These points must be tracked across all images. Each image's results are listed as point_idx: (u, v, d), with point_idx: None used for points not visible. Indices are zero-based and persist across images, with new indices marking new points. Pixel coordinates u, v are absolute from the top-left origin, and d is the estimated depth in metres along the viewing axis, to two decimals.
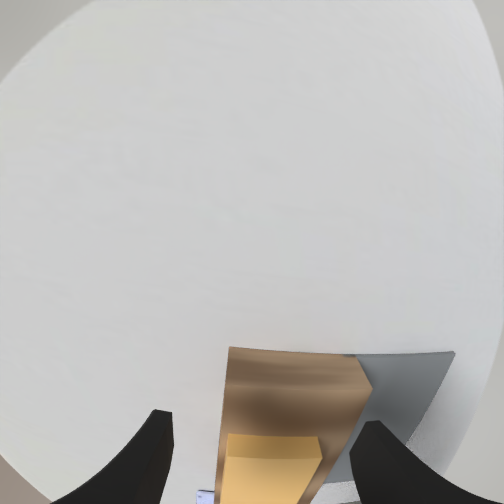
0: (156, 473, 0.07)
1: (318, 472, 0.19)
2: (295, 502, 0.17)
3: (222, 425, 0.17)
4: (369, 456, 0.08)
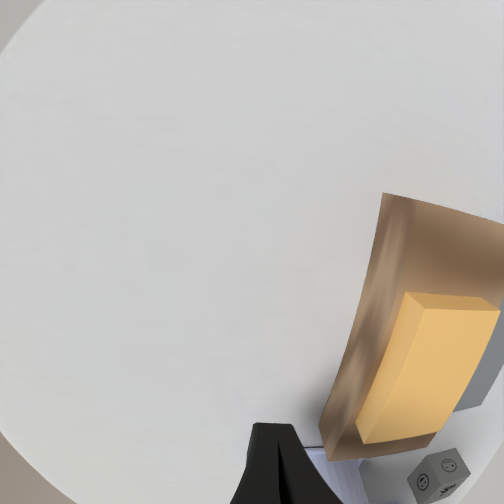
0: None
1: None
2: (451, 409, 0.14)
3: (402, 276, 0.13)
4: None
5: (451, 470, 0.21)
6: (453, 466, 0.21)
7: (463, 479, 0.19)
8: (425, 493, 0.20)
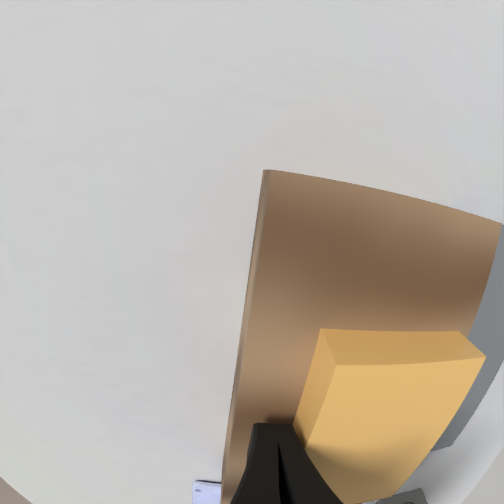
0: None
1: None
2: (407, 477, 0.09)
3: (254, 298, 0.09)
4: None
5: None
6: None
7: None
8: None
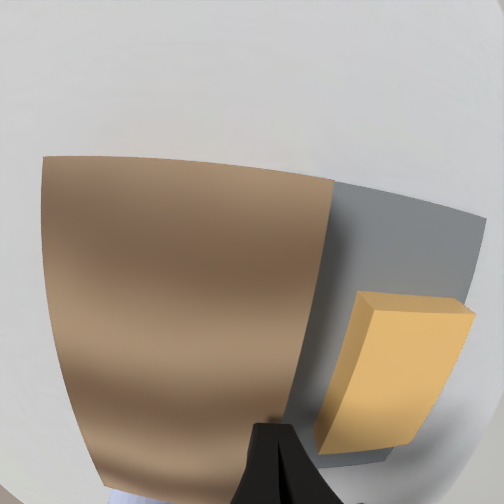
0: None
1: None
2: None
3: (44, 267, 0.09)
4: None
5: None
6: None
7: None
8: None
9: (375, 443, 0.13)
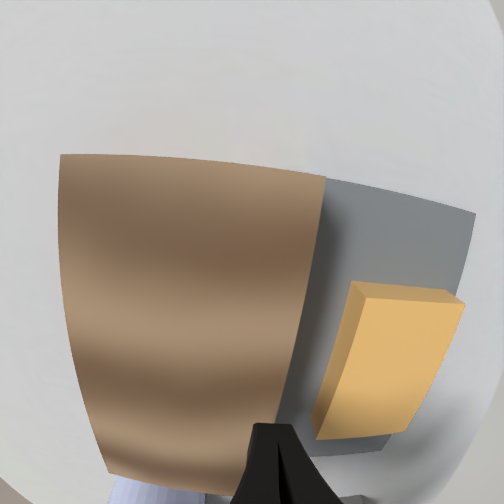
0: None
1: (253, 413, 0.11)
2: None
3: (60, 256, 0.09)
4: None
5: None
6: None
7: None
8: None
9: (370, 429, 0.14)
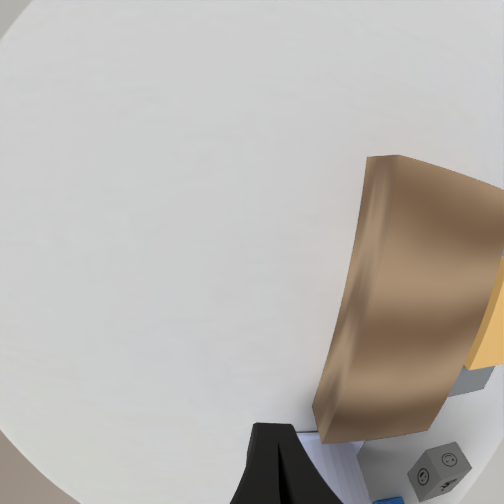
0: None
1: (465, 341, 0.15)
2: None
3: (388, 233, 0.13)
4: None
5: (451, 464, 0.21)
6: (454, 460, 0.21)
7: (464, 473, 0.19)
8: (425, 488, 0.21)
9: (494, 359, 0.18)
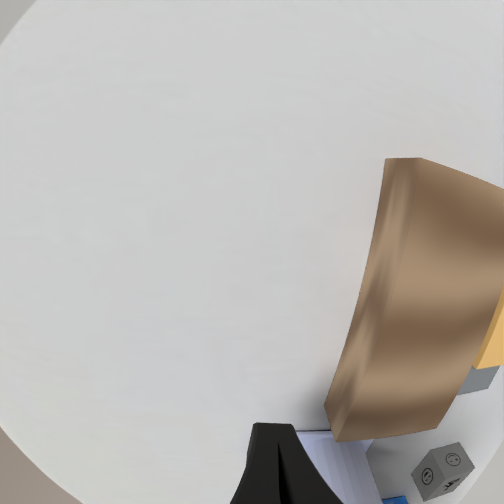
0: None
1: (475, 340, 0.15)
2: None
3: (408, 234, 0.13)
4: None
5: (455, 464, 0.21)
6: (457, 460, 0.21)
7: (467, 473, 0.20)
8: (429, 487, 0.21)
9: (500, 359, 0.18)
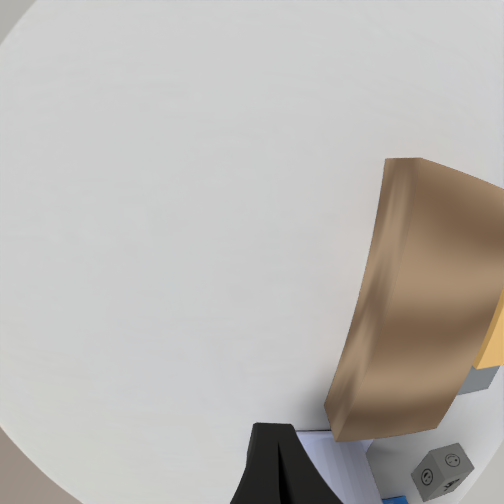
0: None
1: (475, 340, 0.15)
2: None
3: (408, 234, 0.13)
4: None
5: (455, 465, 0.21)
6: (457, 461, 0.21)
7: (467, 474, 0.20)
8: (429, 488, 0.21)
9: (500, 359, 0.18)
